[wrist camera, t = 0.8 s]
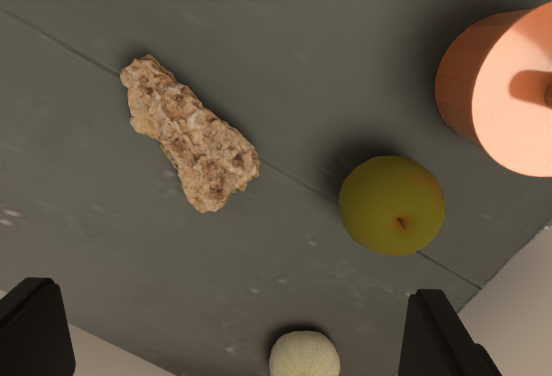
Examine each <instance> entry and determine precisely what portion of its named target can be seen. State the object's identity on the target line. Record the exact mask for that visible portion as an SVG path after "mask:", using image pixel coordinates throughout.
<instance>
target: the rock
mask: <svg viewBox="0 0 552 376" xmlns="http://www.w3.org/2000/svg"><path fill="white" fill-rule="evenodd" d="M120 78H121V81H122V83H123V85H124V86H126V87H127V88H129V89H128V95H127V97H128V104H129V108H130V111H131V115H132V117H131V119H130V123H131V124H132V126H133V127H134V129H135V131H136V132H139V133H142V134H143V135H146V136H148V137H150V138H153V139H158V140H159V141H160V142H161V144H160V147H161V149H162V150H163V151H164V154H165V155H166V156H167V157H168V158H169V160H170V161H171V162H172V164H173V166H174V168H176V169H177V170H178V176H179V178H180V180H181V181H182V188H183V190H184V192H185V194H186V197H187V199H188V201H189V202H190V204H192V205H193V206H194V208H195V209H197V210H198V211H200V212H202V213H205V212H206V211H217V210H218V209H220V208H222V207H223V206H224V205H225V203H226V202H227V201H228V199H229V197H230V195H231V193H235V192H237V191H241V192H243V191H244V189H245V188H246V186H247V182H249V181H250V180H252V179H253V178H255V177H257V176H258V175H259V163H260V161H259V160H258V154H257V152H256V151H255V147H253V146H252V144H250V143H249V142H248V141H247V140H246V139H245V138H244V136H243V135H242V134H241V133H240V132H239V131H238V130H237V129H236V128H233V127H230V126H229V125H228V124H227V122H225V121H222V120H221V119H219V118H218V117H217V116H216V115H215V114H213V112H212V111H211V110H210V109H206V108H204V107H203V105H202V103H201V102H200V101H199V100H198V98H197V97H196V96H195V95H194V94H193V92H192V91H191V90H190V89H189V87H188V86H185V85H183V84H181V83H179V82H176V79H175V77H174V76H173V74H172V73H170V72H169V71H168V70H166V69H165V68H164V67H163V66H160V65H159V63H158V61H157V60H156V59H155V58H154V57H152V56H151V55H149V54H148V55H146V56H145V57H141V58H140V59H134V61H133V62H132V64H131V65H129V66H128V67H125V68H124V69H122V71H121V74H120Z"/></svg>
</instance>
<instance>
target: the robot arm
mask: <svg viewBox="0 0 552 376" xmlns="http://www.w3.org/2000/svg"><path fill="white" fill-rule="evenodd" d="M75 364H76V363H75V357H74V352H73V348H72V343H71V339H70V333H69V329H68V324H67V319H66V314H65V310H64V305H63V300H62V295H61V291H60V287H59V285H58V284H55V283H54V281H53V280H52V279H51V278H35V277H29V278H26V279H24V280H23V281H22V282H20V283H19V284H18V285H17V286H16V287H15V288H13V289H12V290H11V291H10V292H9V293H8V294H7V295H6V296H4V297H3V298H2V299H1V300H0V376H73V374H74V371H75ZM398 376H502V375H501V373H500V372H499V370H498V369H497V367H496V365H495V364H494V362H493V360H492V359H491V358H490V356H489V354H488V353H487V351H486V350H485V348H484V347H483V346H482V345H480V344H475V343H474V342H473V340H472V338H471V337H470V335H469V334H468V332H467V330H466V329H465V327H464V325H463V324H462V322H461V320H460V319H459V317H458V315H457V314H456V312H455V310H454V309H453V307H452V305H451V304H450V302H449V301H448V299H447V297H446V296H445V294H444V292H443V291H442V290H439V289H418V290H417V292H416V294H411V295H410V296H409V301H408V308H407V315H406V322H405V329H404V336H403V343H402V349H401V356H400V363H399V370H398Z"/></svg>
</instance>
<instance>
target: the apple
mask: <svg viewBox="0 0 552 376" xmlns="http://www.w3.org/2000/svg"><path fill="white" fill-rule="evenodd" d="M338 200H339V210H340V214H341V217H342V221H343V225H344V227H345V228H346V230H347V231H348V233H349V234H350V236H351V237H352V238H353V240H354V241H356V242H357V243H359V244H361V245H362V246H364V247H366V248H367V249H369V250H371V251H374V252H377V253H381V254H386V255H390V256H398V255H407V254H411V253H413V252H415V251H417V250H419V249H421V248H423V247H425V246H426V245H427V244H428V243H429V242H430V241H431V240H432V239H433V238H434V237H435V236H436V235H437V234H438V232H439V230H440V228H441V225H442V223H443V221H444V218H445V211H446V209H445V202H444V195H443V191H442V189H441V187H440V185H439V183H438V181H437V179H436V177H435V176H434V175H433V174H432V173H431V172H429V171H428V170H427V169H426V168H424V167H423V166H421V165H420V164H418V163H417V162H415V161H414V160H412V159H411V158H407V157H400V156H394V155H389V156H380V157H373V158H371V159H369V160H368V161H366V162H364V163H362V164H361V165H359V166H357V167H356V168H355V169H354V170H353V171H352V172H351V173H350V175H349V176H348V177H347V178H346V179H345V180H344V182H343V185H342V188H341V191H340V194H339V198H338Z"/></svg>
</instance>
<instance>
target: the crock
mask: <svg viewBox="0 0 552 376" xmlns="http://www.w3.org/2000/svg"><path fill="white" fill-rule="evenodd" d="M530 10H531V9H526V10H518V11H511V12H504V13H497V14H493V15H491V16H489V17H486V18H484V19H482V20H480V21H478V22H476V23H474V24H473V25H471V26H470V27H468V28H467V29H466V30H464V31H463V32H462V33H461V34H460V35H459V36H458V37H457V38H456V39H455V40H454V41H453V42H452V44H451V45H450V46H449V48H448V49H447V51H446V52H445V54H444V56H443V58H442V60H441V62H440V65H439V67H438V70H437V74H436V79H435V99H436V104H437V107H438V110H439V113H440V115H441V117H442V118H443V120H444V122H445V123H446V124H447V125H448V126H449V127H450V128H451V129H452V130H453V131H454V132H456V133H457V134H458V135H459V136H460V137H462V138H463V139H465V140H467V141H469V142H470V143H472V144H474V145H476V146H477V147H479V148H481V146H480V145H479V143H478V142H477V140H476V138H475V135H474V133H473V130H472V127H471V123H470V117H469V95H470V88H471V85H472V81H473V77H474V75H475V72H476V69H477V67H478V65H479V63H480V61H481V59H482V57H483V55H484V54H485V52H486V51H487V49H488V48H489V46H490V45H491V44H492V42H493V41H494V40H495V39H496V38H497V37H498V35H499V34H500V33H501V32H502V31H503V30H504V29H505V28H506V27H507V26H509V25H510V24H511V23H512V22H513V21H515V20H516V19H517V18H519V17H520V16H521V15H523V14H525V13H526V12H528V11H530ZM481 149H482V148H481Z"/></svg>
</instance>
